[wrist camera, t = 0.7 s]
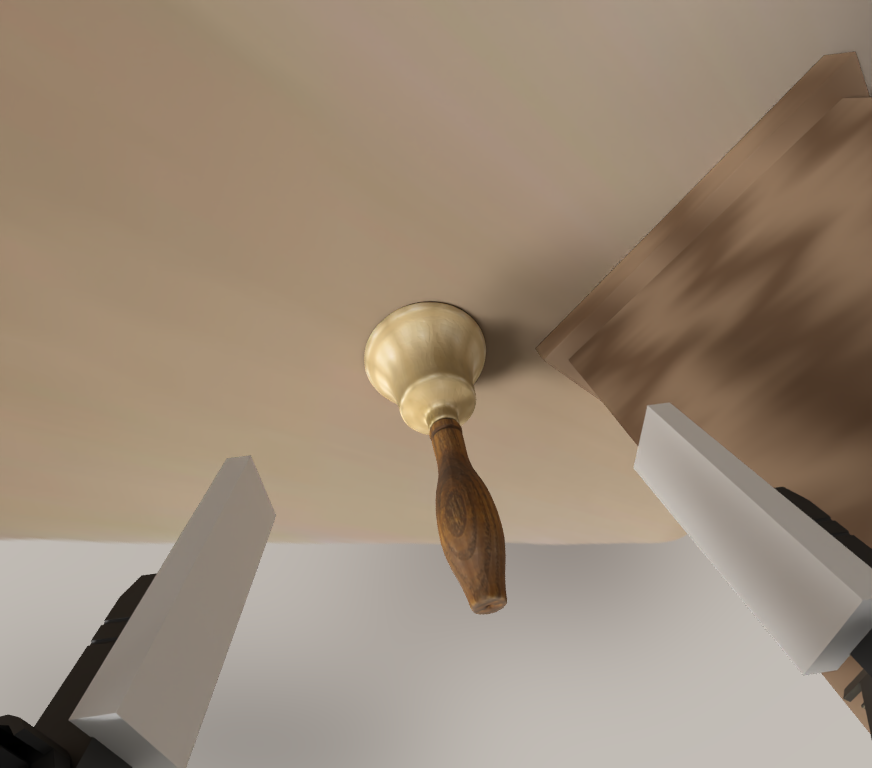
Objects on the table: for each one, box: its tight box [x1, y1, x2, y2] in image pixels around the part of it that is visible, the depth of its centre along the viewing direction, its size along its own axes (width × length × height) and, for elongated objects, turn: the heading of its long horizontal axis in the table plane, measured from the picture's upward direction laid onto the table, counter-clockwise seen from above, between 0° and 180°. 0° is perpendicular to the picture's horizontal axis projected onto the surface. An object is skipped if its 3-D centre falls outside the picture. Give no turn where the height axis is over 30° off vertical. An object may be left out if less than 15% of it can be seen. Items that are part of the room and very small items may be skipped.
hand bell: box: [364, 302, 507, 614], centre depth 19 cm, size 8×8×16 cm
